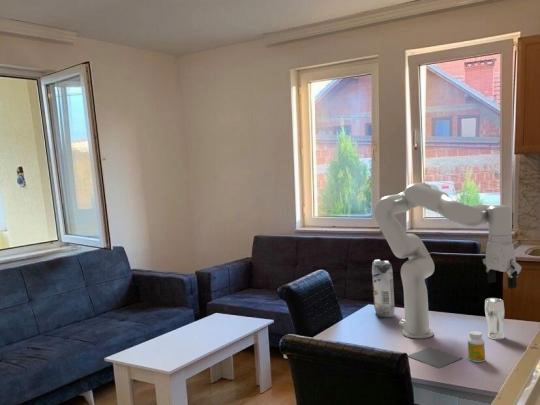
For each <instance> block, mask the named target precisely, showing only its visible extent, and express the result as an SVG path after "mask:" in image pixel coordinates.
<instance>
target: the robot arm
mask: <svg viewBox="0 0 540 405" xmlns="http://www.w3.org/2000/svg"><path fill="white" fill-rule="evenodd" d="M417 207H420V208H423V209H426V210H429V211H431V212H434V213H437V214H438V215H440V216H442V217H444V218H445V219H447V220H449V221H451V222H454V223H457V224H460V225H462V226H466V227H471V228H474V227H475V228H476V227H478V226H481V225H485V224H487V225H488V226H487V227H488V241H487V243H486V249H485V258H482V262H483V266H484V269H485V272H486V273H487V283H488V284H492V283H496V281H497V277H496V276H497V273H496V271H498V272H503V273H505V272H506V274H507V275H508V277H507V288H508V289H510V290H512V289H516V288H517V278H518V277H519V275H520V273H521V271H522V269H523V268H522V266H521V265H520V264H519V263H518V262H517V260H516V253H515V248H514V244H513V235H512V234H513V232H512V209H511V207H510V206H509V205H505V204H504V205H503V204H495V205H487V204H475V205H472V206H470V205H468V204H464V203H461V202H459V201H456V200H453V199H451V197H450V196H449V194H448V193H447V192H445V191H441V190H438V189H434V188H432V187H431V185H430V184H428V183H425V182H413V183H411V184H409V185H408V186H406V187H405V189H404V191H402V192H400V193H397V194H391V195H390V194H389V195H386V196H383V197H381V198H380V199H379V200H378V201H377V202H376V204H375V207H374V212H373V213H374V214H373V215H374V219H375V221H376V223H377V226H379V229H380V230H381V231H382V233H383V236H384V238H385V240H386V242H387V243H388V246H389V247H390V250H391V252H392V253H393V254H394V256H395V257H396V258H398V259H406V258H408V260H406V261H405V262H404V263H403V264H402V265H401V267H400V277H401V283H402V287H403V288H402V289H403V304H404V307H403V308H404V318H402V319H401V320H400V321H399V323H398V324H399V325H400V326H403V328H402V329H401V334H402V335H403V336H404V337H407V338H410V339H411V338H412V339H428V338H431V337H432V336H433V335H434V330H433V329H431V328H430V321H429V319H430V318H429V301H428V300H429V298H428V289H427V285H426V281H425V279H427V278H429V277H431V276H432V275H433V274H434V272H435V263H434V260H433V259H432V257H431V254H430V252H429V251H428V249H427V248H426V245H425V244H424V242H423V241H422V239H421V238H420V237H419V236H418V235H416V234H414V233H407V232H406V231H405V229H404V227H403V225H402V223H401V222H400V221H399V220H398V219H397V218H396V215H399V214H404V213H407V212H409V211H411V210H413V209H415V208H417Z"/></svg>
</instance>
